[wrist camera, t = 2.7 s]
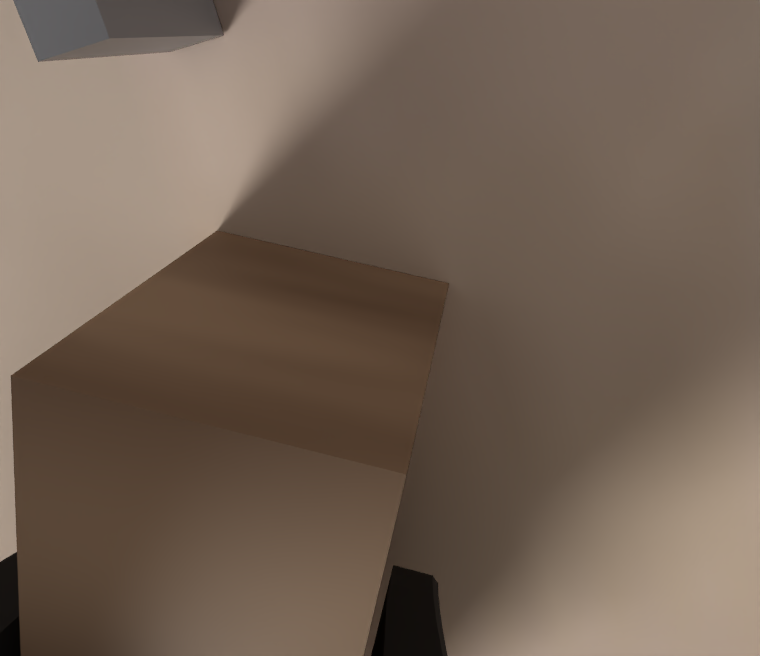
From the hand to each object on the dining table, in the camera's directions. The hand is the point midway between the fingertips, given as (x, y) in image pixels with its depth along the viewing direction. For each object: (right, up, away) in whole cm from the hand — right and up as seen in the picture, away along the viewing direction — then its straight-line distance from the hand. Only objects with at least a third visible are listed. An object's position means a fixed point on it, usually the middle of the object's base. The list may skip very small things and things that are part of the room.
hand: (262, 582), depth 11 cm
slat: (0, +1, +1) cm, 2 cm away
